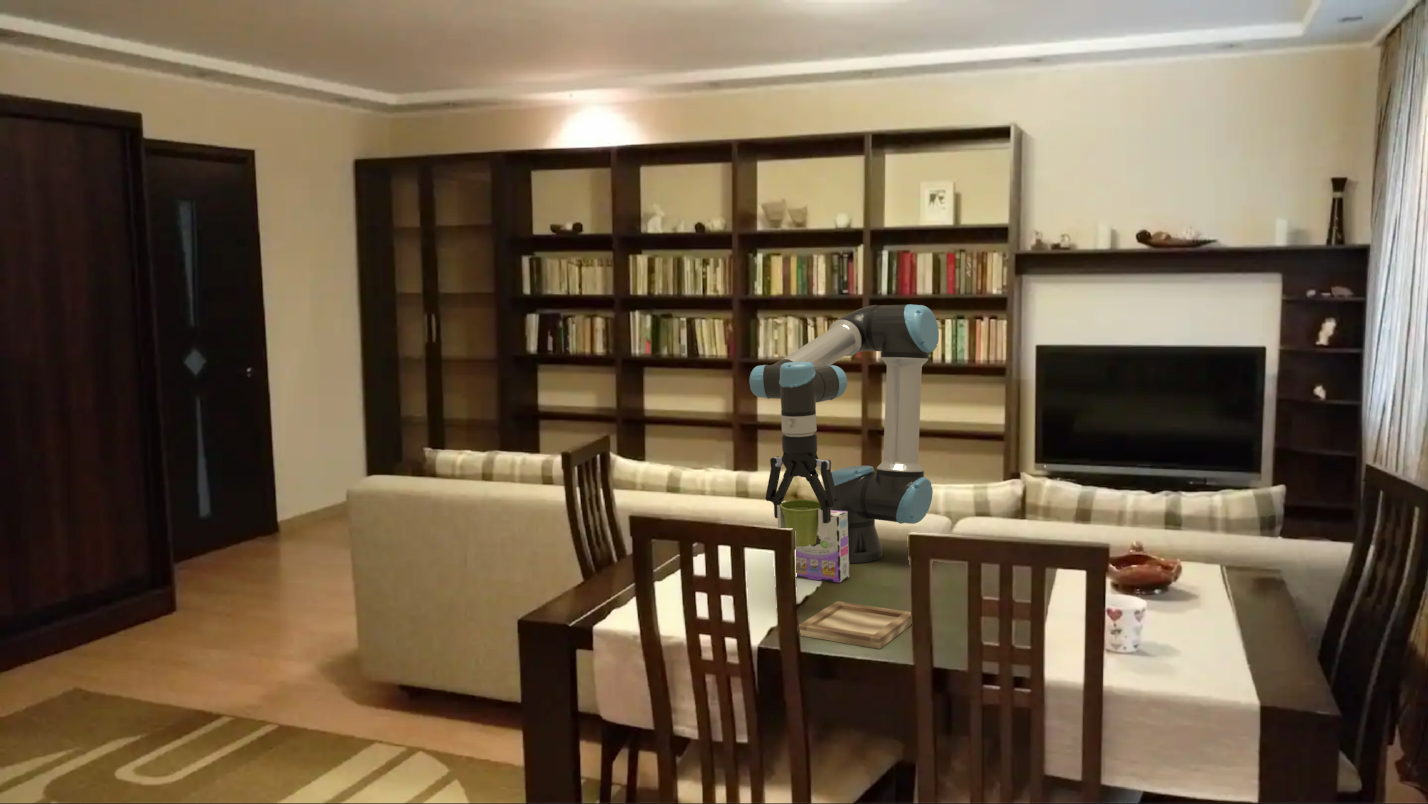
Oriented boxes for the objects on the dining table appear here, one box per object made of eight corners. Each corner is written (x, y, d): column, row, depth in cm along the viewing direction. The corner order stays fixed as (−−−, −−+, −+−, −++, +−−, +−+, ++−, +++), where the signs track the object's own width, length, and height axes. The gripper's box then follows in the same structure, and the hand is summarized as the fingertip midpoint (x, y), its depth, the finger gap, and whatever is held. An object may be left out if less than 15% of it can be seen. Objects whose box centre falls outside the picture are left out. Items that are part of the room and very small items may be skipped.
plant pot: (821, 550, 226) (821, 510, 225) (777, 548, 228) (777, 508, 227) (825, 538, 235) (825, 500, 234) (783, 536, 237) (783, 498, 236)
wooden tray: (837, 609, 231) (836, 601, 230) (914, 621, 221) (914, 612, 221) (797, 634, 215) (797, 625, 215) (879, 648, 206) (879, 638, 206)
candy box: (850, 577, 255) (849, 510, 253) (839, 583, 250) (838, 515, 248) (799, 570, 262) (797, 505, 260) (788, 576, 257) (786, 510, 255)
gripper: (746, 434, 231) (750, 534, 234) (837, 439, 219) (841, 544, 222) (763, 428, 237) (767, 526, 240) (853, 433, 225) (856, 536, 228)
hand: (802, 535), depth 231 cm, fingers closed on plant pot, 9 cm apart
